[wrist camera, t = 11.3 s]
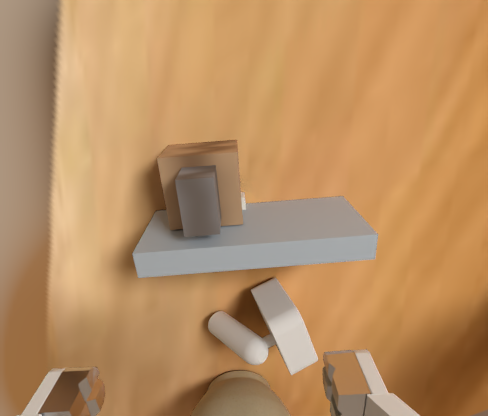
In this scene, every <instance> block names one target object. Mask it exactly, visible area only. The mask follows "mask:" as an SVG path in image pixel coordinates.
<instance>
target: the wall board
mask: <svg viewBox="0 0 488 416" xmlns="http://www.w3.org/2000/svg"><path fill="white" fill-rule="evenodd" d="M241 201H242V214H243V224H242V225H229V226H221V229H220V234H217V235H204V236H191V237H184V232H183V229H177V230H170V226H169V221H168V216H167V210H159V211H156V212H155V214H154V215H153V217H152V219H151V221H150V223H149V224H148V226H147V228H146V230H145V232H144V233H143V235H142V237H141V239H140V241H139V243H138V244H137V246H136V248H135V250H134V252H133V253H132V255H133V259H134V263H135V267H136V271H137V275H138V278H144V277H157V276H169V275H182V274H195V273H207V272H220V271H233V270H245V269H258V268H270V267H283V266H296V265H308V264H321V263H334V262H346V261H359V260H371V259H375V256H376V247H377V239H378V234H377V233H376V232H375V231H374V229H373V228H372V227H371V226H370V225H369V224H368V223H367V222H366V221H365V220H364V219H363V217H362V216H361V215H360V214H359V213H358V212H357V211H356V210H355V209H354V208H353V207H352V205H351V204H350V203H349V202H348V201H347V200H346V199H345V198H344V197H343V196H339V197H326V198H313V199H300V200H287V201H275V202H262V203H249V204H245V193H244V192H241Z"/></svg>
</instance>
